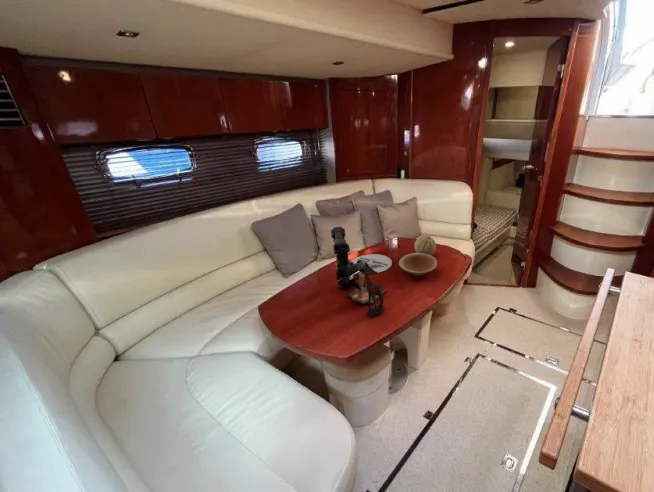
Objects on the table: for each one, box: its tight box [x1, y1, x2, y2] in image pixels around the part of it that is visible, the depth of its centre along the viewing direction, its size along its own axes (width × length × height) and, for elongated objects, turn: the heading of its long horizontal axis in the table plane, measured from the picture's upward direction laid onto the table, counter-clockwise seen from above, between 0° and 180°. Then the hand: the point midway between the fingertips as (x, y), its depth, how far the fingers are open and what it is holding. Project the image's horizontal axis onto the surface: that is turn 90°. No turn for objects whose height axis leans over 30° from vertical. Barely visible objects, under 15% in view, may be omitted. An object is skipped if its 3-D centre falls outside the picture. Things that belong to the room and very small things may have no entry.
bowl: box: [398, 252, 438, 277], centre depth 189 cm, size 24×24×8 cm
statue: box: [363, 262, 384, 318], centre depth 147 cm, size 12×7×30 cm, turn 139°
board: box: [347, 284, 386, 306], centre depth 169 cm, size 16×14×1 cm
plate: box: [351, 253, 393, 274], centre depth 202 cm, size 28×28×1 cm
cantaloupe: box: [413, 235, 437, 256], centre depth 207 cm, size 15×15×15 cm
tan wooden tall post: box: [351, 274, 368, 305], centre depth 159 cm, size 8×4×15 cm, turn 60°
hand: (362, 288), depth 158 cm, fingers closed on tan wooden tall post, 3 cm apart
